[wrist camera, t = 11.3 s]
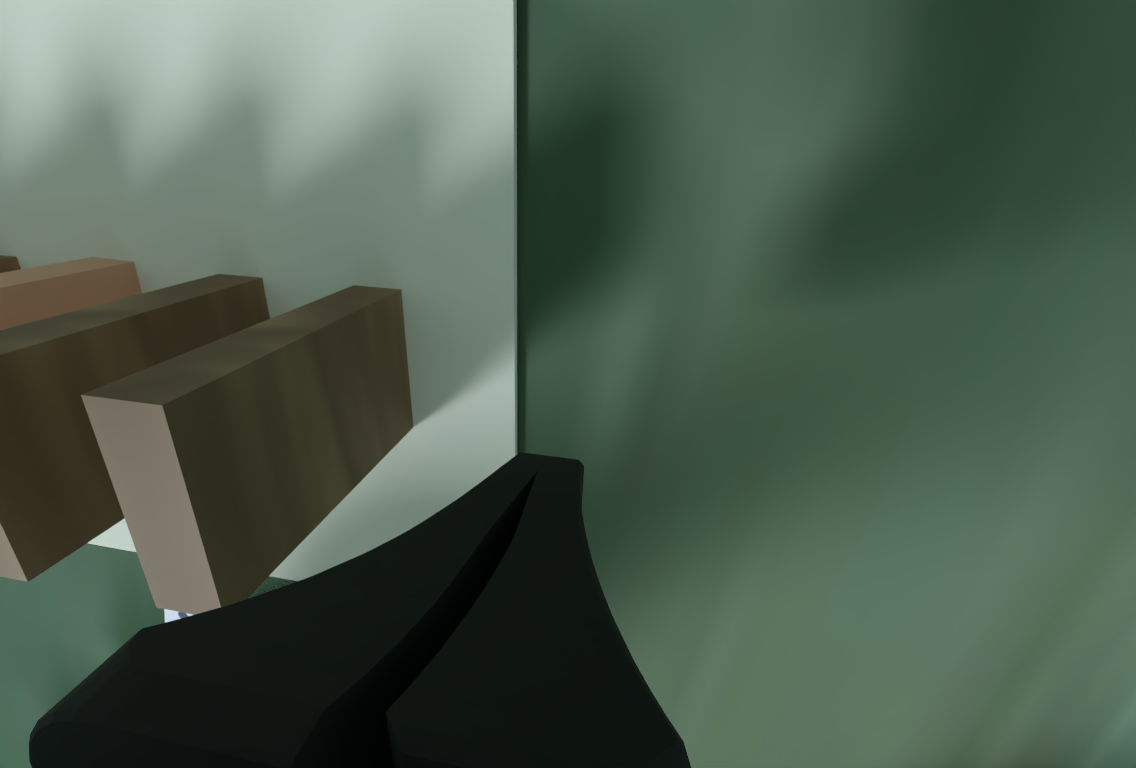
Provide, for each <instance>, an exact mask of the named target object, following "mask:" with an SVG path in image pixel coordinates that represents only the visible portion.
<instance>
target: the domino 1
mask: <svg viewBox="0 0 1136 768" xmlns="http://www.w3.org/2000/svg"><path fill="white" fill-rule="evenodd" d="M139 294H142V291H141V287H140V283H139V279H138V275H137V272H136V268H135V264H134V262H133V261H124V260H116V259H107V258H98V257H90V258H84V259H78V260H72V261H67V262H61V263H55V264H49V265H44V266H38V267H32V268H27V269H21V270H15V271H9V272H4V273H0V330H3V329H7V328H11V327H15V326H19V325H23V324H27V323H30V322H34V321H38V320H42V319H46V318H50V317H54V316H57V315H61V314H65V313H69V312H73V311H77V310H81V309H85V308H88V307H92V306H96V305H100V304H104V303H108V302H112V301H115V300H119V299H123V298H127V297H131V296H135V295H139Z"/></svg>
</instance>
